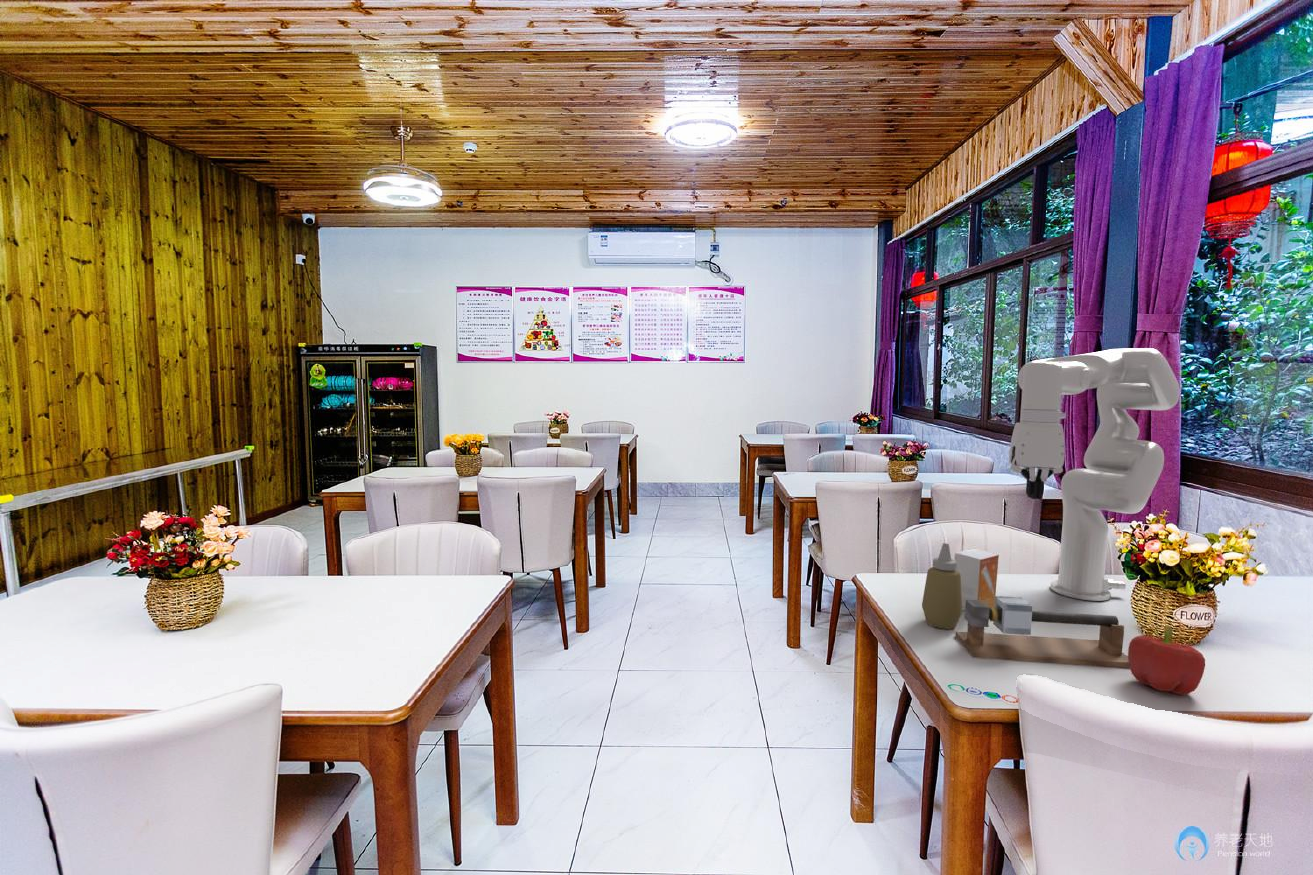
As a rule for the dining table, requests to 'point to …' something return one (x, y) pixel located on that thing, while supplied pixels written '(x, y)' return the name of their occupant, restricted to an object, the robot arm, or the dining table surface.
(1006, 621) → the sleeve
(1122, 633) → the rod stand
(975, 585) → the small box
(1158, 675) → the vegetable
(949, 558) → the squeeze bottle
